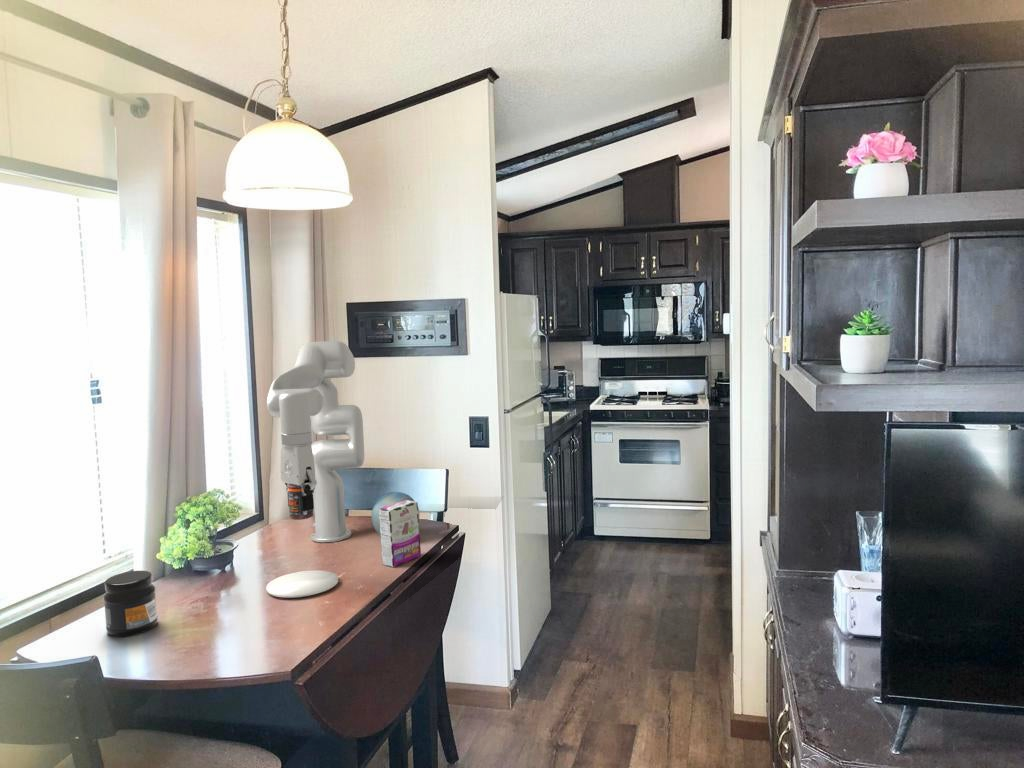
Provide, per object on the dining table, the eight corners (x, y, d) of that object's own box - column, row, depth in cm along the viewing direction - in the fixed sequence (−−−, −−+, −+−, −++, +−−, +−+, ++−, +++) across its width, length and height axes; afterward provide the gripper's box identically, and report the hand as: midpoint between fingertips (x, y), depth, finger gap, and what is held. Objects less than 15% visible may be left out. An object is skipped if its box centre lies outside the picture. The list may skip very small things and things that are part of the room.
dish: (254, 588, 186) (253, 584, 186) (315, 570, 199) (315, 565, 199) (288, 605, 173) (287, 600, 173) (351, 584, 186) (351, 580, 186)
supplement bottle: (284, 519, 184) (282, 476, 183) (301, 513, 190) (298, 471, 189) (302, 521, 182) (299, 477, 181) (318, 515, 187) (315, 472, 186)
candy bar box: (409, 554, 210) (406, 499, 209) (421, 556, 207) (418, 501, 206) (380, 565, 201) (377, 507, 200) (393, 568, 198) (390, 510, 197)
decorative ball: (426, 532, 232) (423, 486, 231) (413, 546, 217) (410, 498, 216) (381, 532, 234) (379, 487, 233) (365, 546, 219) (363, 498, 218)
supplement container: (164, 627, 163) (160, 576, 162) (113, 642, 156) (109, 589, 155) (150, 615, 171) (146, 566, 170) (100, 629, 164) (96, 578, 163)
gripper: (267, 438, 187) (271, 506, 189) (300, 444, 175) (305, 516, 177) (293, 435, 193) (297, 500, 194) (327, 440, 181) (331, 510, 182)
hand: (301, 507), depth 185 cm, fingers closed on supplement bottle, 6 cm apart
